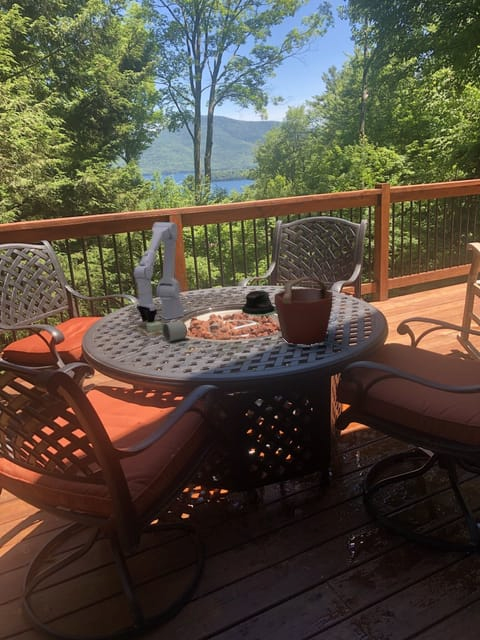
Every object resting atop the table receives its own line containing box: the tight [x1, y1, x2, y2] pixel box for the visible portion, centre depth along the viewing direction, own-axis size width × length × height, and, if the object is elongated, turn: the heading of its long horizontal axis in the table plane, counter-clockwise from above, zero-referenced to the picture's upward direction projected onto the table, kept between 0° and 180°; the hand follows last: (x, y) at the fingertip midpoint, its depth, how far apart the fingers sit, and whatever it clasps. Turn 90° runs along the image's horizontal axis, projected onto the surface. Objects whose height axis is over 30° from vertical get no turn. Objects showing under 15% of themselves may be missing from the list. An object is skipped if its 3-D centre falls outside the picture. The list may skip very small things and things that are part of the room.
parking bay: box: [137, 325, 163, 338], centre depth 209 cm, size 10×12×1 cm
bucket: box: [274, 276, 333, 345], centre depth 188 cm, size 24×22×25 cm
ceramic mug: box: [162, 321, 188, 343], centre depth 198 cm, size 11×8×8 cm
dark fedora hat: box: [241, 290, 277, 317], centre depth 234 cm, size 20×20×9 cm
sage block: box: [145, 320, 163, 333], centre depth 208 cm, size 5×5×4 cm
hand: (148, 322), depth 213 cm, fingers open, 7 cm apart
